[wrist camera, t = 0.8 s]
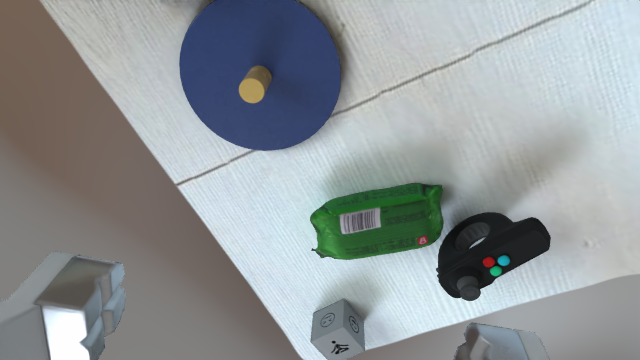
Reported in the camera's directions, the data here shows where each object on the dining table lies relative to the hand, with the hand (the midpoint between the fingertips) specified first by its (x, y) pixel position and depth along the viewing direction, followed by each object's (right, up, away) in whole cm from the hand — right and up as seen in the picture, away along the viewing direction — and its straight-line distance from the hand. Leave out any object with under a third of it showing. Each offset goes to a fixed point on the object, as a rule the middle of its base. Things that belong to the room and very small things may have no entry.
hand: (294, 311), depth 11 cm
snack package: (+7, 0, +45) cm, 45 cm away
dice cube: (+3, -16, +53) cm, 55 cm away
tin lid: (-5, +14, +37) cm, 40 cm away
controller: (+19, -2, +45) cm, 49 cm away
